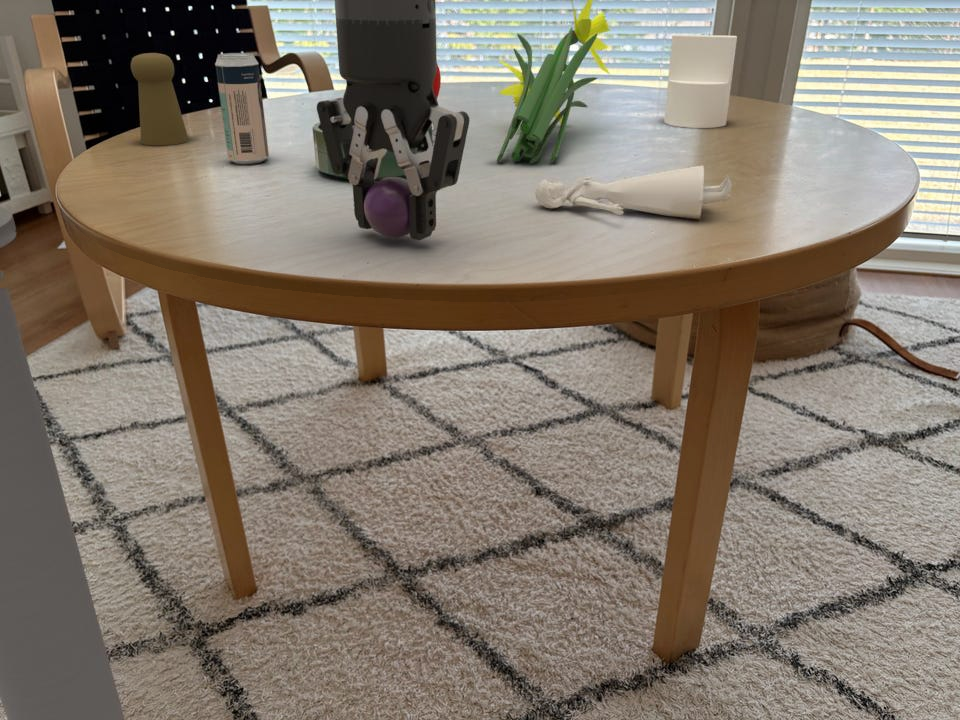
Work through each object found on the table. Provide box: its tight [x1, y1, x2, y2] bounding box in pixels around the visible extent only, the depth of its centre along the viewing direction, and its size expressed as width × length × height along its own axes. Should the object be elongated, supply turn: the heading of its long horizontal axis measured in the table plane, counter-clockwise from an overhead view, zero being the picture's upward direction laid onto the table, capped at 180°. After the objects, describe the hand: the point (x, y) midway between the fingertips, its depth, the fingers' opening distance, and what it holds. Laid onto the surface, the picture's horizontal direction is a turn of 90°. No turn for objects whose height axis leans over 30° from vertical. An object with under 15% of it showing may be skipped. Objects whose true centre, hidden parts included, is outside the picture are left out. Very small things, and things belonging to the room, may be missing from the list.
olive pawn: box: [130, 52, 190, 147], centre depth 106 cm, size 6×6×11 cm
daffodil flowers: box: [496, 0, 611, 165], centre depth 107 cm, size 17×15×35 cm
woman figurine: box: [534, 165, 732, 220], centre depth 76 cm, size 12×4×18 cm
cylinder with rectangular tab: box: [663, 33, 738, 129], centre depth 118 cm, size 9×9×12 cm
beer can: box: [214, 52, 270, 165], centre depth 95 cm, size 5×5×12 cm
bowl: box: [312, 120, 434, 182], centre depth 92 cm, size 13×13×5 cm
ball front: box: [364, 177, 412, 239], centre depth 68 cm, size 5×5×5 cm
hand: (395, 231), depth 69 cm, fingers closed on ball front, 5 cm apart
